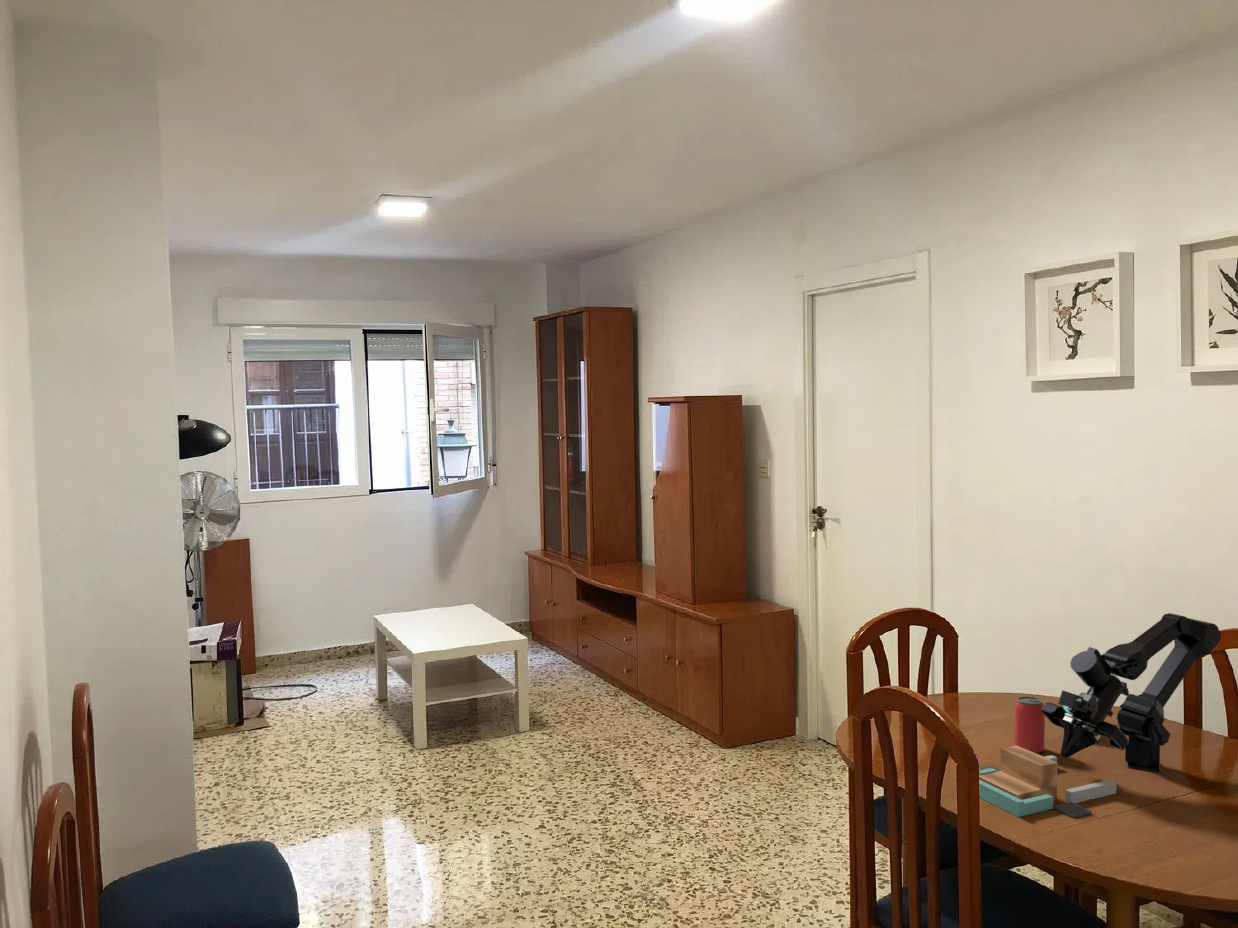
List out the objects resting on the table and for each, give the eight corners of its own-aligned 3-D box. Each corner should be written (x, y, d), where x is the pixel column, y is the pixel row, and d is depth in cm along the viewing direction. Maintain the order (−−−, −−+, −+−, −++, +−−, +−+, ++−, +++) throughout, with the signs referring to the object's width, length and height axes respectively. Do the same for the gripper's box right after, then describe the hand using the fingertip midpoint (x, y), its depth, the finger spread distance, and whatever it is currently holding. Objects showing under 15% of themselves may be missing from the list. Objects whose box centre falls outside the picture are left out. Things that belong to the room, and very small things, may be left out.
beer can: (1047, 754, 228) (1048, 704, 227) (1017, 753, 229) (1018, 703, 228) (1040, 745, 234) (1041, 696, 233) (1011, 743, 235) (1012, 694, 234)
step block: (1016, 780, 213) (1016, 745, 212) (1056, 799, 203) (1057, 762, 202) (977, 789, 208) (977, 753, 208) (1016, 809, 198) (1017, 770, 198)
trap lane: (1034, 758, 226) (1034, 745, 225) (1137, 802, 201) (1137, 788, 201) (941, 777, 215) (941, 764, 214) (1037, 826, 190) (1038, 811, 190)
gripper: (1046, 666, 220) (1009, 722, 216) (1118, 689, 203) (1079, 749, 199) (1072, 695, 223) (1036, 750, 220) (1144, 719, 206) (1107, 779, 203)
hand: (1062, 756), depth 210 cm, fingers closed
